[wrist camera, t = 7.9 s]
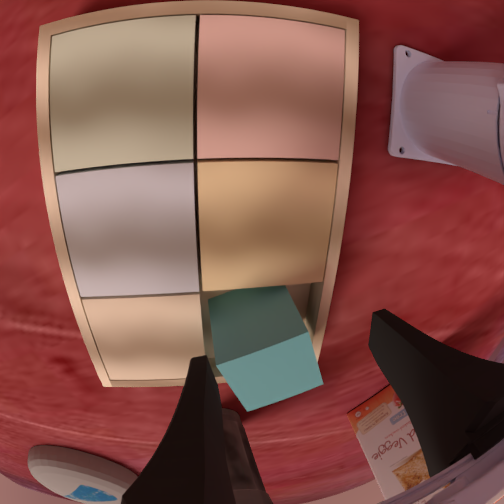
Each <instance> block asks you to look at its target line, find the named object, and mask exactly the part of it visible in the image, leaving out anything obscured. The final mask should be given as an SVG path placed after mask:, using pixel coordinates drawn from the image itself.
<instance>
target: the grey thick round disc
mask: <svg viewBox="0 0 504 504" xmlns="http://www.w3.org/2000/svg"><path fill="white" fill-rule="evenodd" d="M28 467H29V470H30V472H31V474H32V475H33V477H34V478H35V479H36V480H38V481H39V482H40V483H41V484H42V485H44V486H45V487H47V488H48V489H50V490H51V491H53V492H55V493H57V494H59V495H61V496H64V497H66V498H69V499H72V500H75V501H78V502H81V503H85V504H121V499H122V495H123V494H124V493H125V491H126V490H127V489H128V488H129V487H130V486H131V485H132V483H133V482H134V481H135V480H136V479H137V477H138V476H137V475H136V474H134V473H133V472H131V471H130V470H128V469H126V468H125V467H123V466H121V465H118V464H116V463H114V462H112V461H109V460H106V459H104V458H101V457H98V456H95V455H92V454H89V453H85V452H82V451H78V450H74V449H70V448H64V447H59V446H51V445H39V446H34V447H32V448H31V449H30V450H29V454H28Z"/></svg>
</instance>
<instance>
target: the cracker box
mask: <svg viewBox="0 0 504 504" xmlns="http://www.w3.org/2000/svg"><path fill="white" fill-rule="evenodd" d="M347 416H348V418H349V420H350V423H351V425H352V427H353V430H354V432H355V434H356V436H357V438H358V440H359V442H360V445H361V447H362V449H363V451H364V454H365V456H366V458H367V460H368V462H369V465H370V467H371V469H372V472H373V474H374V476H375V478H376V480H377V483H378V485H379V487H380V489H381V492H382V494H383V496H384V499H385V500H387V499H389V498H391V497H393V496H396V495H398V494H400V493H402V492H404V491H406V490H408V489H410V488H412V487H414V486H416V485H418V484H420V483H422V482H423V481H425V480H427V479H429V478H430V476H429V473H428V469H427V465H426V462H425V459H424V455H423V452H422V449H421V446H420V443H419V441H418V438H417V435H416V433H415V430H414V428H413V426H412V423H411V421H410V419H409V416H408V414H407V412H406V410H405V408H404V406H403V404H402V402H401V400H400V399H399V397H398V396H397V394H396V392H395V391H394V389H393V388H392V386H391V385H389V386H388V387H386V388H385V389H383V390H382V391H381V392H379V393H378V394H376V395H375V396H373V397H372V398H370V399H369V400H367V401H366V402H364V403H363V404H361V405H360V406H358V407H357V408H355V409H353V410H352V411H350V412H349V413H347ZM450 483H451V482H450ZM450 483H449V484H450ZM449 484H447V485H446V486H444V487H442V488H441V489H439V490H437V491H435V492H434V493H432V494H430V495H428V496H427V497H425V498H423V499H421V500H419V501H417V502H415V503H413V504H424V503H426V502H427V501H428V500H430V499H431V498H432V497H433V496H434V495H435V494H437V493H439V492H440V491H442V490H443V489H445V488H446V487H448V486H449ZM502 497H504V489H503V490H501V491H500V492H499V493H498V494H497V495H496V496H494V497H493V498H492V499H491V500H490V501H488V502H487V503H486V504H495V503H496V502H497V501H499V500H500V499H501V498H502Z"/></svg>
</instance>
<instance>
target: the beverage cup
mask: <svg viewBox="0 0 504 504" xmlns="http://www.w3.org/2000/svg"><path fill="white" fill-rule="evenodd" d="M222 417H223V431H224V444H225V454H226V461H227V466H228V471H229V475H230V480H231V484H232V489H233V493H234V497H235V501H236V504H273V502H272V501H271V499H270V497H269V495H268V494H267V493H266V491H265V488H264V485H263V482H262V479H261V477H260V474H259V471H258V468H257V465H256V462H255V459H254V456H253V453H252V450H251V447H250V444H249V441H248V438H247V435H246V432H245V429H244V427H243V425H242V422H241V420H240V416H239V414H238V413H237V412H235V411H233V410H230V409H224V408H222Z"/></svg>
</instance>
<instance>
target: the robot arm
mask: <svg viewBox="0 0 504 504" xmlns="http://www.w3.org/2000/svg"><path fill="white" fill-rule="evenodd" d="M405 52H407V53H408V57H407V56H406V54H405ZM400 148H402V151H401V152H399V149H400ZM388 152H389V154H390V155H392V156H395V157H402V158H410V159H417V160H424V161H431V162H437V163H443V164H449V165H455V166H460V167H462V168H465V169H467V170H470V171H472V172H475V173H477V174H480V175H482V176H485V177H487V178H489V179H492V180H494V181H496V182H498V183H501V184H503V185H504V63H492V62H465V61H443V60H440V59H438V58H435V57H433V56H430V55H428V54H425V53H423V52H420V51H417V50H414V49H412V48H409V47H406V46H403V45H397V46H395V48H394V69H393V93H392V109H391V122H390V133H389V143H388ZM368 345H369V348H370V350H371V352H372V354H373V356H374V358H375V360H376V362H377V364H378V366H379V367H380V369H381V371H382V372H383V374H384V375H385V377H386V378H387V380H388V382H389V383H390V385H391V386H392V388H393V389H394V391H395V392H396V394H397V396H398V397H399V399H400V400H401V402H402V404H403V406H404V408H405V410H406V412H407V414H408V416H409V419H410V421H411V423H412V426H413V428H414V430H415V433H416V435H417V438H418V441H419V443H420V446H421V449H422V452H423V455H424V459H425V462H426V465H427V469H428V473H429V476H430V478H429V479H427V480H425V481H423V482H422V483H420V484H418V485H416V486H414V487H412V488H410V489H408V490H406V491H404V492H402V493H400V494H398V495H396V496H393V497H391V498H389V499H387V500H385V501H382V502H380V503H378V504H413V503H415V502H417V501H419V500H421V499H423V498H425V497H427V496H428V495H430V494H432V493H434V492H435V491H437V490H439V489H441V488H442V487H444V486H446V485H447V484H449V483H450V482H451V483H450V484H449V486H448V487H446V488H445V489H443V490H442V491H440V492H439V493H437V494H435V495H434V496H433V497H432V498H431V499H430V500H428V501H427V502H426V503H424V504H486V503H487V502H488V501H490V500H491V499H492V498H493V497H494V496H496V495H497V494H498V493H499V492H500V491H501V490H503V489H504V364H502V363H497V362H493V361H488V360H485V359H481V358H478V357H475V356H472V355H469V354H466V353H463V352H461V351H458V350H456V349H454V348H451V347H449V346H447V345H445V344H443V343H441V342H439V341H437V340H435V339H433V338H432V337H430V336H428V335H426V334H424V333H423V332H421V331H419V330H418V329H416V328H415V327H413V326H411V325H410V324H408V323H407V322H405V321H403V320H402V319H400V318H399V317H397V316H396V315H394V314H392V313H391V312H389V311H388V310H386V309H382V310H379V311H376V312H373V314H372V322H371V330H370V337H369V344H368ZM121 504H236V501H235V497H234V493H233V489H232V484H231V480H230V475H229V471H228V466H227V461H226V454H225V444H224V431H223V417H222V405H221V400H220V394H219V389H218V384H217V382H216V379H215V376H214V374H213V371H212V368H211V366H210V363H209V360H208V357H207V355H203V356H198V357H193V358H191V360H190V364H189V368H188V373H187V377H186V380H185V384H184V387H183V390H182V393H181V396H180V399H179V402H178V405H177V408H176V410H175V413H174V415H173V418H172V420H171V422H170V425H169V427H168V429H167V431H166V433H165V435H164V437H163V439H162V441H161V442H160V444H159V446H158V448H157V450H156V451H155V453H154V455H153V456H152V458H151V459H150V461H149V462H148V464H147V465H146V466H145V468H144V469H143V471H142V472H141V473H140V475H139V476H138V477H137V479H136V480H135V481H134V482H133V483H132V485H131V486H130V487H129V488H128V489H127V490H126V491H125V493H124V494H123V495H122V499H121Z"/></svg>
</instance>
